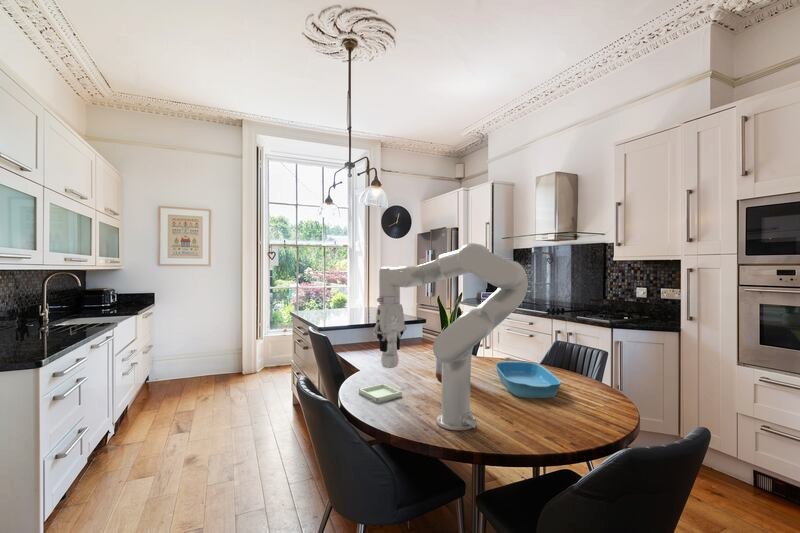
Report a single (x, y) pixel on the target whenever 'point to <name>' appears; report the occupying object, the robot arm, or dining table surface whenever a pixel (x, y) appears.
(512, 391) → the casserole dish
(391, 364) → the plastic bottle
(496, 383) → the dining table surface
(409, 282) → the robot arm
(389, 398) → the tray
